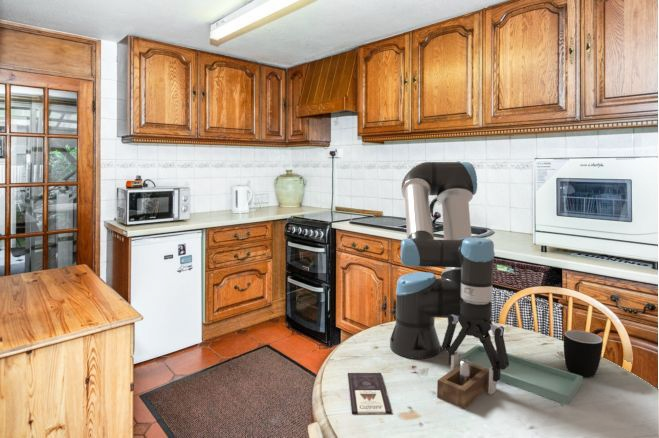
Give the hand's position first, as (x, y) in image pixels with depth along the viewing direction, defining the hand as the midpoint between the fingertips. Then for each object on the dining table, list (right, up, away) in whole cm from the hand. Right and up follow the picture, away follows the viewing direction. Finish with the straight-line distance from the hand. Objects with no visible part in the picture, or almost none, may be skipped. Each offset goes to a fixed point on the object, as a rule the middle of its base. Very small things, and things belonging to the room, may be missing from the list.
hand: (472, 384), depth 105 cm
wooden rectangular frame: (-3, -1, -3) cm, 4 cm away
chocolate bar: (-27, -1, -3) cm, 27 cm away
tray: (+14, 0, +5) cm, 15 cm away
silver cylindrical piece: (-3, -1, -3) cm, 4 cm away
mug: (+32, +1, +8) cm, 33 cm away
